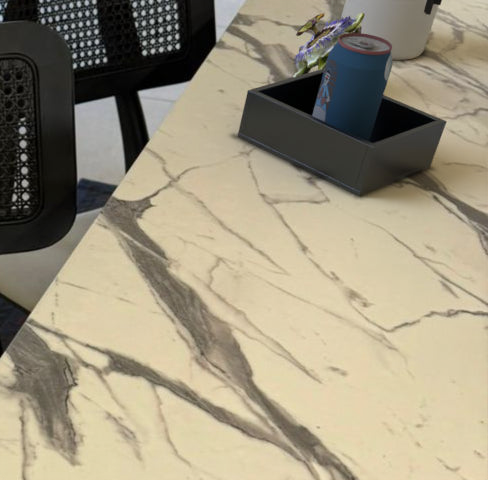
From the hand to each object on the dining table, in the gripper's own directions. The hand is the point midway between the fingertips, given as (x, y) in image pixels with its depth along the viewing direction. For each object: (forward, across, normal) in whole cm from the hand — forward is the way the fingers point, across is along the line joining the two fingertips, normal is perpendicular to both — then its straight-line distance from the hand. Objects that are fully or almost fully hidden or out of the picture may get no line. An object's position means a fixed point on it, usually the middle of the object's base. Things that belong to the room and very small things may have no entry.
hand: (380, 3), depth 108 cm
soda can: (+16, +1, 0) cm, 16 cm away
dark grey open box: (+17, +1, 0) cm, 17 cm away
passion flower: (+17, +4, -20) cm, 27 cm away
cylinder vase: (+17, 0, -42) cm, 45 cm away
